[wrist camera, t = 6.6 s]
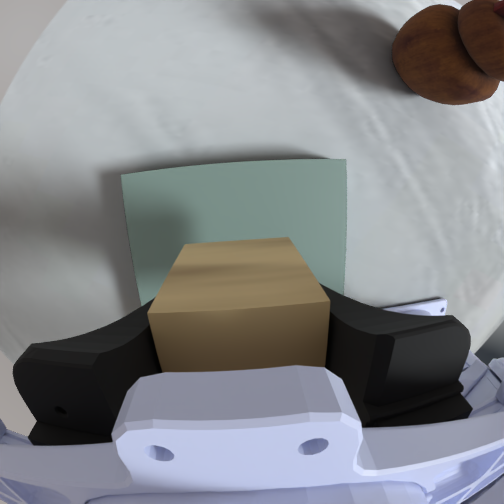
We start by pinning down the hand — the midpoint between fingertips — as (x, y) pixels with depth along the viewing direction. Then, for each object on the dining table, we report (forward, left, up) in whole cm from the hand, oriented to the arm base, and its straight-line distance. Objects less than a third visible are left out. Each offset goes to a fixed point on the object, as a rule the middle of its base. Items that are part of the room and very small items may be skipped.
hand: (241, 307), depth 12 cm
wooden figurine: (+13, -14, -9) cm, 21 cm away
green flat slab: (0, 0, -9) cm, 9 cm away
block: (0, 0, -2) cm, 2 cm away
